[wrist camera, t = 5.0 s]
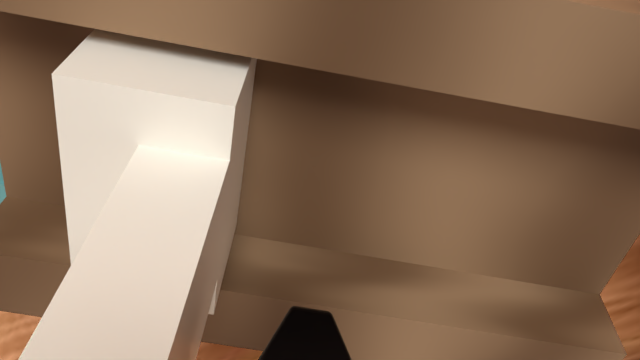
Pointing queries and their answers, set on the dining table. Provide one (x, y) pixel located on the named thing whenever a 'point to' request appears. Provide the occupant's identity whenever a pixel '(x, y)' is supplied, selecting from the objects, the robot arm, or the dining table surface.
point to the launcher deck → (377, 166)
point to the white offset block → (144, 195)
